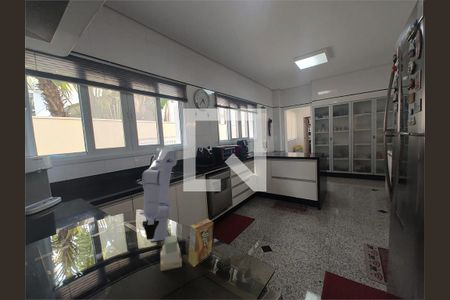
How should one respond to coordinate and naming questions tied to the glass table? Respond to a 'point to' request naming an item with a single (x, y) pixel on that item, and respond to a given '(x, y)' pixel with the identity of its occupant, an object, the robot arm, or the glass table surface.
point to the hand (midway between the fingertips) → (150, 233)
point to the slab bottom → (170, 263)
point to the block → (170, 244)
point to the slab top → (170, 255)
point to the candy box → (200, 241)
